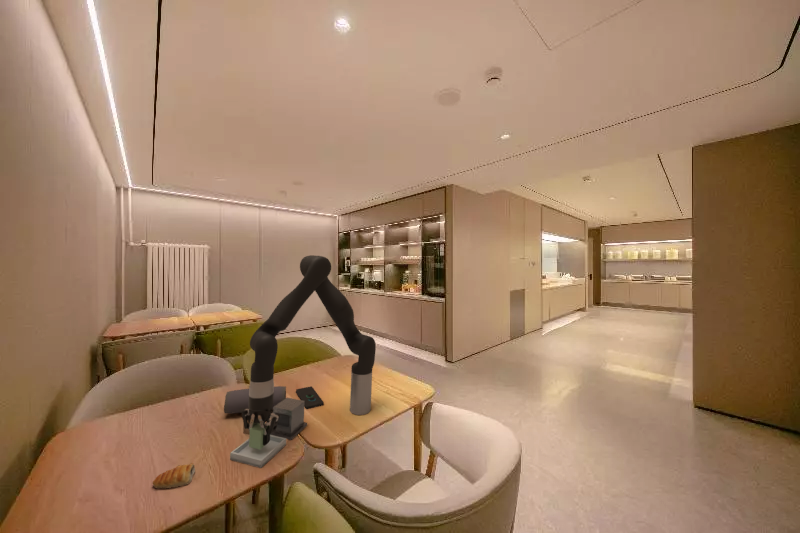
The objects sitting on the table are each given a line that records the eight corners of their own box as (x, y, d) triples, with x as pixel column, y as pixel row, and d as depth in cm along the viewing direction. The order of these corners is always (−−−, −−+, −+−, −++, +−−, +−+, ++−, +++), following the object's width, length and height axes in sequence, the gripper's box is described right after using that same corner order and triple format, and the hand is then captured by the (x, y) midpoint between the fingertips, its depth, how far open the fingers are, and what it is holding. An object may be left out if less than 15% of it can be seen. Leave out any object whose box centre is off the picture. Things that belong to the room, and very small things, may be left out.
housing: (285, 420, 115) (286, 396, 115) (307, 425, 113) (308, 400, 112) (268, 434, 105) (269, 407, 105) (291, 440, 103) (292, 412, 103)
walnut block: (252, 427, 110) (252, 411, 110) (261, 429, 109) (262, 413, 109) (243, 433, 106) (243, 417, 106) (252, 435, 105) (253, 419, 105)
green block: (258, 439, 98) (259, 421, 98) (269, 441, 97) (270, 424, 97) (249, 446, 94) (249, 428, 94) (260, 449, 93) (260, 431, 93)
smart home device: (306, 406, 124) (295, 389, 141) (305, 410, 124) (295, 392, 141) (324, 402, 129) (312, 385, 146) (324, 406, 129) (311, 389, 146)
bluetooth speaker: (285, 403, 129) (286, 381, 129) (284, 413, 120) (285, 390, 120) (228, 409, 122) (229, 386, 122) (222, 421, 113) (223, 396, 113)
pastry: (148, 495, 77) (149, 481, 77) (157, 478, 83) (157, 465, 83) (190, 485, 81) (191, 471, 81) (196, 469, 87) (196, 457, 87)
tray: (257, 438, 103) (257, 431, 103) (286, 445, 100) (286, 438, 100) (229, 459, 92) (230, 452, 92) (261, 468, 88) (261, 460, 88)
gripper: (287, 390, 97) (284, 440, 97) (252, 384, 101) (250, 432, 101) (271, 400, 90) (269, 454, 90) (235, 393, 94) (233, 445, 94)
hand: (259, 442), depth 96 cm, fingers closed on green block, 4 cm apart
